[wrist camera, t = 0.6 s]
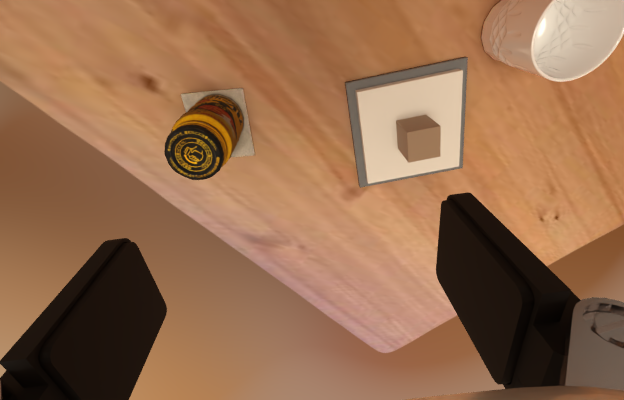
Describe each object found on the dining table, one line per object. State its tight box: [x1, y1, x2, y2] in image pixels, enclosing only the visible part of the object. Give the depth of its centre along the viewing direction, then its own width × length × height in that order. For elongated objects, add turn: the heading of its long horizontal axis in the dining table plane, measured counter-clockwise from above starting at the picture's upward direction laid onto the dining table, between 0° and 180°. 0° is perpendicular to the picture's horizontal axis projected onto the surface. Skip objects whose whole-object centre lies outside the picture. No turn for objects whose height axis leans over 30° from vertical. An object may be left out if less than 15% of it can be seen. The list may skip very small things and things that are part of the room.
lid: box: [355, 69, 463, 184], centre depth 38 cm, size 12×12×6 cm
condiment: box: [165, 88, 255, 180], centre depth 35 cm, size 7×8×12 cm
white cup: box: [481, 0, 624, 82], centre depth 31 cm, size 8×8×10 cm
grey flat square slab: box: [345, 57, 468, 187], centre depth 41 cm, size 14×14×1 cm
